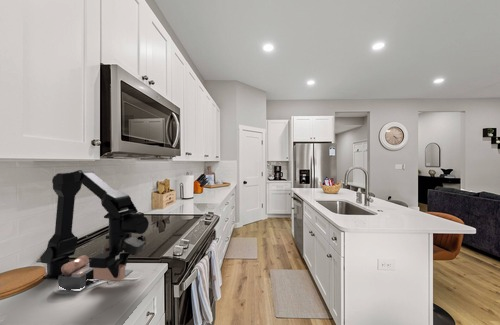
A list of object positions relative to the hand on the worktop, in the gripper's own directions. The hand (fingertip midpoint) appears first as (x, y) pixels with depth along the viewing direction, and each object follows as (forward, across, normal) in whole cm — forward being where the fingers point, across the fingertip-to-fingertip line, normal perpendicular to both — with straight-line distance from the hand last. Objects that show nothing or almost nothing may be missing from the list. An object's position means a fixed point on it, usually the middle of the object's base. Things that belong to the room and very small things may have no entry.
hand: (118, 275), depth 75 cm
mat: (+4, +7, +9) cm, 12 cm away
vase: (+4, +20, +19) cm, 28 cm away
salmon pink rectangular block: (+1, 0, +4) cm, 4 cm away
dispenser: (+4, 0, +15) cm, 16 cm away
